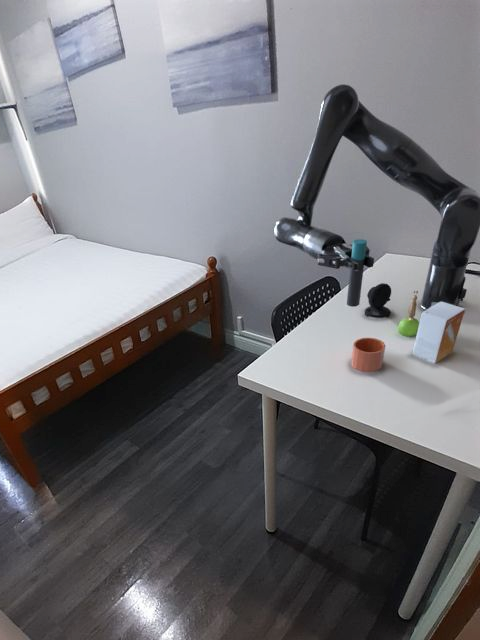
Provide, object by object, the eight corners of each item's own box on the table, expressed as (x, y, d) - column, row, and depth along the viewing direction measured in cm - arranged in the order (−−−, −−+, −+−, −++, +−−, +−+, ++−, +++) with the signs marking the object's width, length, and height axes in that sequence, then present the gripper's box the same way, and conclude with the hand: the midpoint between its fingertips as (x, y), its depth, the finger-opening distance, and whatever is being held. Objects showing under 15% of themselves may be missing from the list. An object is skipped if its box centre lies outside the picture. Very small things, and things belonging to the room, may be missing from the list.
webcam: (377, 306, 130) (381, 276, 124) (396, 314, 124) (401, 284, 118) (358, 313, 128) (362, 284, 122) (377, 322, 122) (381, 292, 116)
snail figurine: (418, 329, 116) (427, 291, 109) (418, 341, 111) (427, 301, 104) (397, 328, 118) (404, 290, 111) (396, 339, 114) (403, 300, 106)
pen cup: (369, 355, 109) (372, 334, 106) (388, 369, 104) (392, 347, 100) (345, 363, 108) (347, 342, 104) (363, 377, 102) (366, 356, 98)
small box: (434, 366, 102) (446, 320, 94) (411, 356, 106) (420, 312, 99) (453, 353, 105) (466, 308, 97) (429, 344, 110) (440, 300, 102)
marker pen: (354, 300, 105) (361, 238, 95) (361, 304, 102) (369, 241, 93) (344, 303, 104) (350, 241, 95) (351, 307, 102) (358, 244, 92)
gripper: (300, 237, 104) (341, 256, 91) (347, 225, 107) (393, 242, 93) (299, 265, 109) (338, 287, 95) (344, 253, 111) (388, 273, 98)
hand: (365, 265), depth 94 cm, fingers closed on marker pen, 3 cm apart
